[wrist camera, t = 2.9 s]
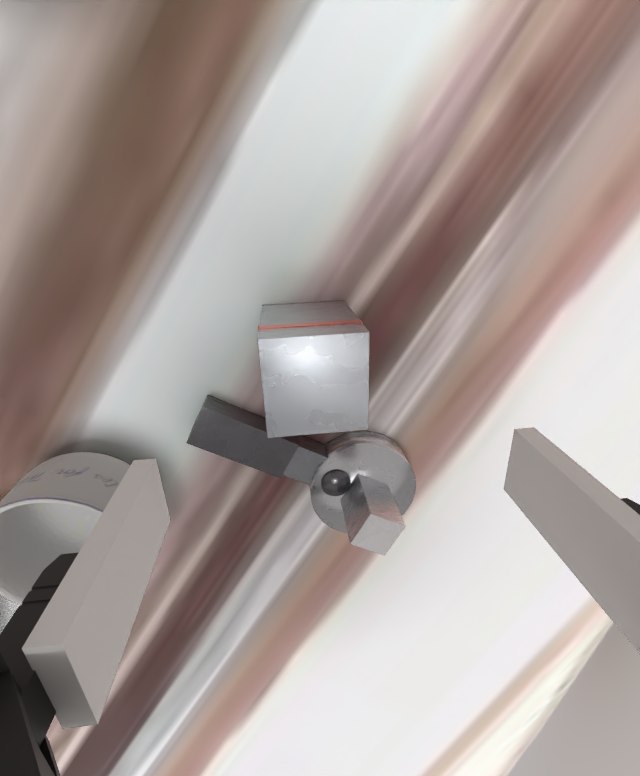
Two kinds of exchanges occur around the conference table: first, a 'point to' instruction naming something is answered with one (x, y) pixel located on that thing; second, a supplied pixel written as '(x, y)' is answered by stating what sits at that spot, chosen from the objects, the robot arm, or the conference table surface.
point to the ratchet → (321, 470)
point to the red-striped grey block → (313, 368)
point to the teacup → (52, 515)
